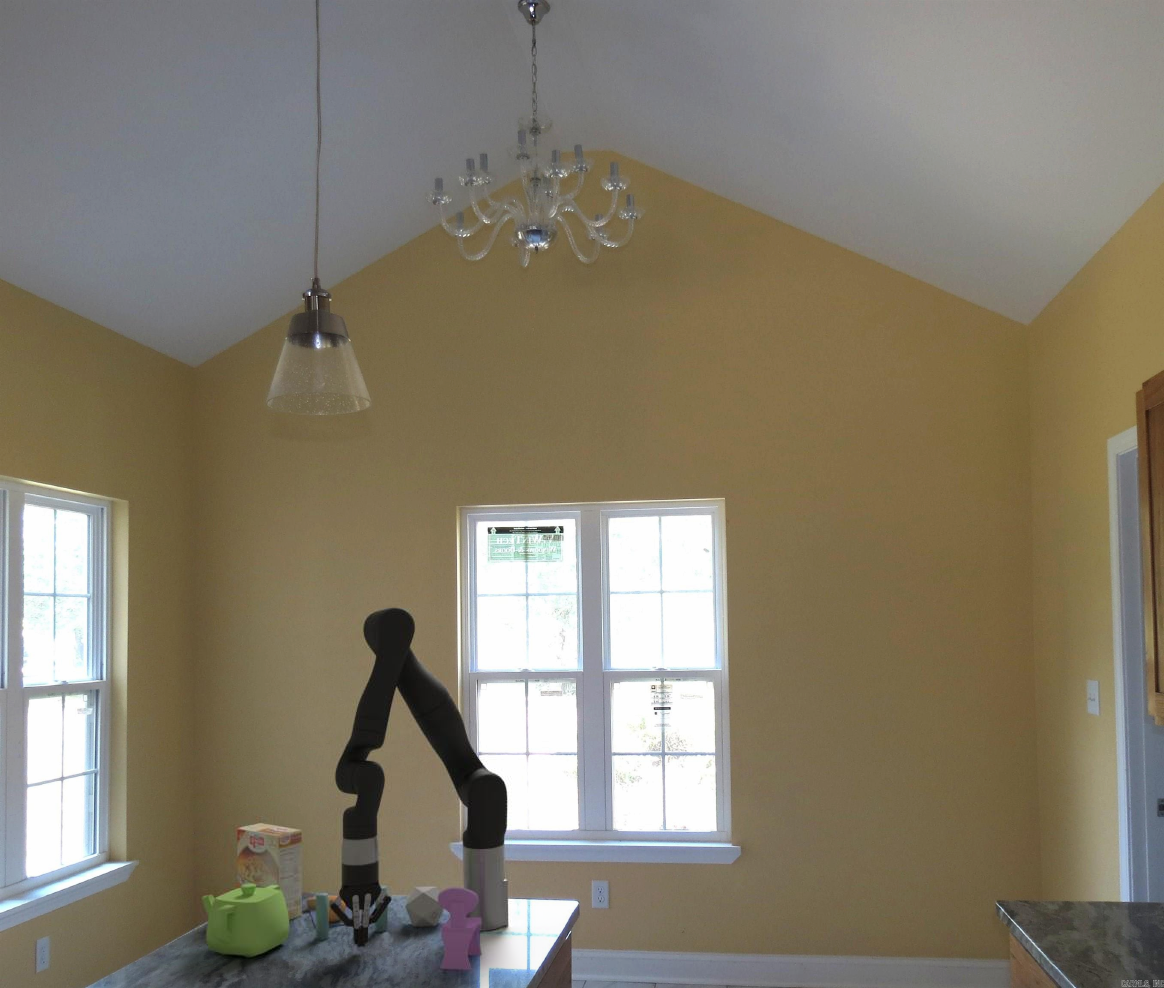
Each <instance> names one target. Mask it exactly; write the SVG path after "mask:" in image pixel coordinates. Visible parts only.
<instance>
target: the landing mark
mask: <svg viewBox="0 0 1164 988" xmlns="http://www.w3.org/2000/svg"><path fill="white" fill-rule="evenodd" d="M374 909H375V907H374V906H372V907H371V908H370V915H371V914H372V912H373V911H374ZM309 913H310V917H311V919H312V922H313V925H314V929H316V909H314V910H310V911H309ZM359 913H360V924H361V910H359ZM345 914H346V915H347V916H348V917H349V918H351V919H352V911H351V910H350V909H349V908H348V907H347V905H346V910H345ZM370 915H369V916H370ZM339 926H346V925H345V924H344V923H343V922H342V921H341V920H338V921H336V922H329V928H332V927H339Z"/></svg>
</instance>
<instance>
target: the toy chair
mask: <svg viewBox="0 0 1164 988" xmlns="http://www.w3.org/2000/svg"><path fill="white" fill-rule="evenodd" d="M439 892H440V893H439V895H438V903H439V904H440V906H441V907H443V908H444V910H446V912H448V913H449V915H450V917H449V919H448V920H447V921H446V922H445V923H444V924H443V925H442V926H441V934H440V936H441V940H442V943H443V946H444V954H443V958H442V962H441V964H440V966H439V969H442V970H444V969H445V970H464V971H465V970H466V971H468V970H472V966H471V964H470V960H469V956H483V952H482V949H481V945H480V940H479V939H480V936H479V935H480V929H481V926H482V922H481V917H472V918H466V915H467V914H468V913H470V912H471V911H473V910H474V908H475V907H476V906H477V904H478V901H479V898H478V895H477V894H476V893H475V892H473V891H471V890H469V889H466V888H463V887H461V886H460V887H459V886H458V887H456V886H455V887H447V888H445V889H443V890H442V891H439Z"/></svg>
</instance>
